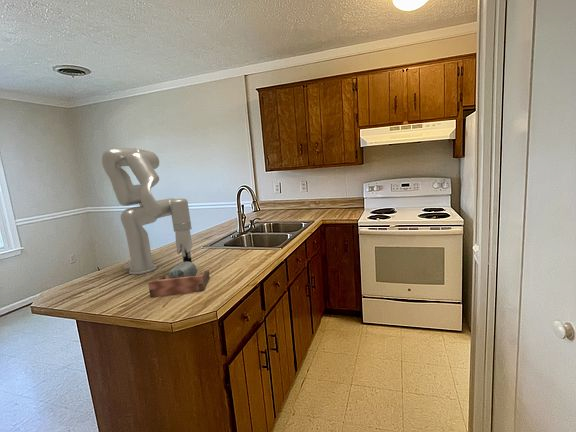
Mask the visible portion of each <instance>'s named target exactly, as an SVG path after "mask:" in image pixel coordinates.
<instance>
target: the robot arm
mask: <svg viewBox="0 0 576 432" xmlns="http://www.w3.org/2000/svg"><path fill="white" fill-rule="evenodd" d="M101 165H102V167H103V169H104V172H105V174H106V175H107V177H108V178H109V180H110V182H111V186H112V188H113V191H114V194H115V197H116V199H117V201H118V203H119V205H121V206H123V207H125V206H127V207H129V206H133V205H135V206H134V207H129V208H126V209H124V210H123V211H122V212H121V214H120V221H121V225H122V226H123V230H124V232H125V236H126V242H127V246H128V247H127V248H128V252H129V258H130V263H124V264H123V269H124V270H126V269H129V272H128V273H129V274H130V275H143V274H147V273H150V272H153V271H155V270H156V269H157V267H158V266H157V264H155V263H154V262H153V256H152V252H151V251H152V250H151V245H150V244H151V243H150V238H149V234H148V232H147V230H146V229H145V228H144V227H143V226H146V225H150V224H153V223H155V222H157V220H158V219H161V218H165V217H169V216H171V221H172V228H173V232H174V233H175V245H176V246H175V247H176V254H178V255H180V254H181V257H182V260H183V262H186V261H189V262H192V263H193V261H192V254H191V250H192V249H193V240H192V235H191V234H192V233H191V230H192V223H191V216H190V215H191V214H190V207H189V202H188V200H187V199H186V198H173V197H172V198H164V199H160V200H156V199H155V197H154V196H153V194H152V190H151V189H152V188H153V187H155V186H156V185H157V184H158V183H159V181H160V177H159V175H158V173H157V172H156V169H158V167H159V166H160V159H159V156H158V155H157V154H156V153H154V151H150V150H145V149H142V148H135V147H132V148H131V147H127V148H125V147H114V148H109V149H106V150H105V151H104V152H103V153H102V154H101ZM122 167H129V169H130V170H131V172H132V173H133V174H134V176H135V178H136V180H137V181H138V183H139V184H134V183H133V182H132V178H131V177H130V175H129V174H128V173H127V171H126V170H125V169H123V168H122ZM136 205H139V206H136ZM183 262H182V263H183Z"/></svg>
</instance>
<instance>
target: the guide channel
mask: <svg viewBox="0 0 576 432" xmlns="http://www.w3.org/2000/svg"><path fill="white" fill-rule="evenodd" d="M210 276H211V275H210V272H209V270H207V271H204V273H203V274H199V275H197V274H196V276H188V277H179V278H171V279H169V278H166V275H162V276H160V277H159V278H158V279H156V280H155V279H154V280H149V281H148V282H147V284H148V289H149V295H150V296H149V297H150V298H155V297H162V296H163V297H164V296H171V295H180V294H188V293H197V292H204V291H205V289H206V286H207V285H208V284H207V283H208V282H209V280H210V278H211V277H210Z"/></svg>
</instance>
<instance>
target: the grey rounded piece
mask: <svg viewBox="0 0 576 432" xmlns="http://www.w3.org/2000/svg"><path fill="white" fill-rule="evenodd" d="M197 274H198V269H197V266H196V265H195V263H193V261H192V262H189V261H186V262H181V263H179V264H177V265H176V266H174V267H173V268H172V269H171V270H170V271H169V273H168V279H171V278H179V277H188V276H197Z"/></svg>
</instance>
